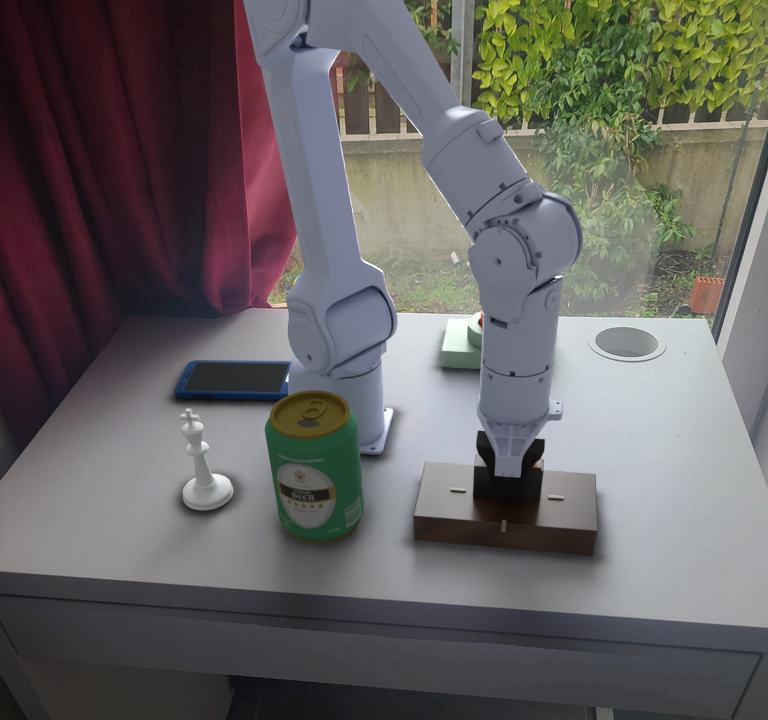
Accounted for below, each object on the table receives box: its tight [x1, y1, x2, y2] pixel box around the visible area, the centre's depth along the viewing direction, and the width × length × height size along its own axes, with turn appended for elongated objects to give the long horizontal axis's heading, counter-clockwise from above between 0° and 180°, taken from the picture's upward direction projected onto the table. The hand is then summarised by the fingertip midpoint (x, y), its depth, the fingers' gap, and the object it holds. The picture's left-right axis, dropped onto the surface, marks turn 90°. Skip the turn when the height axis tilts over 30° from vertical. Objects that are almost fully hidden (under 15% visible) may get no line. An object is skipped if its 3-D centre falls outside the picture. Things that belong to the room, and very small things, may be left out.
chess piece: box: [179, 407, 234, 511], centre depth 77 cm, size 5×5×10 cm
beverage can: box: [264, 390, 365, 545], centre depth 73 cm, size 8×8×12 cm
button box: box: [440, 311, 483, 370], centre depth 97 cm, size 12×8×4 cm, turn 80°
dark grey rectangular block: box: [473, 453, 545, 502], centre depth 73 cm, size 6×2×4 cm, turn 80°
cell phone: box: [173, 359, 292, 401], centre depth 95 cm, size 7×14×1 cm, turn 85°
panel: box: [412, 460, 599, 557], centre depth 75 cm, size 16×10×3 cm, turn 80°
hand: (506, 490), depth 73 cm, fingers closed on dark grey rectangular block, 2 cm apart
